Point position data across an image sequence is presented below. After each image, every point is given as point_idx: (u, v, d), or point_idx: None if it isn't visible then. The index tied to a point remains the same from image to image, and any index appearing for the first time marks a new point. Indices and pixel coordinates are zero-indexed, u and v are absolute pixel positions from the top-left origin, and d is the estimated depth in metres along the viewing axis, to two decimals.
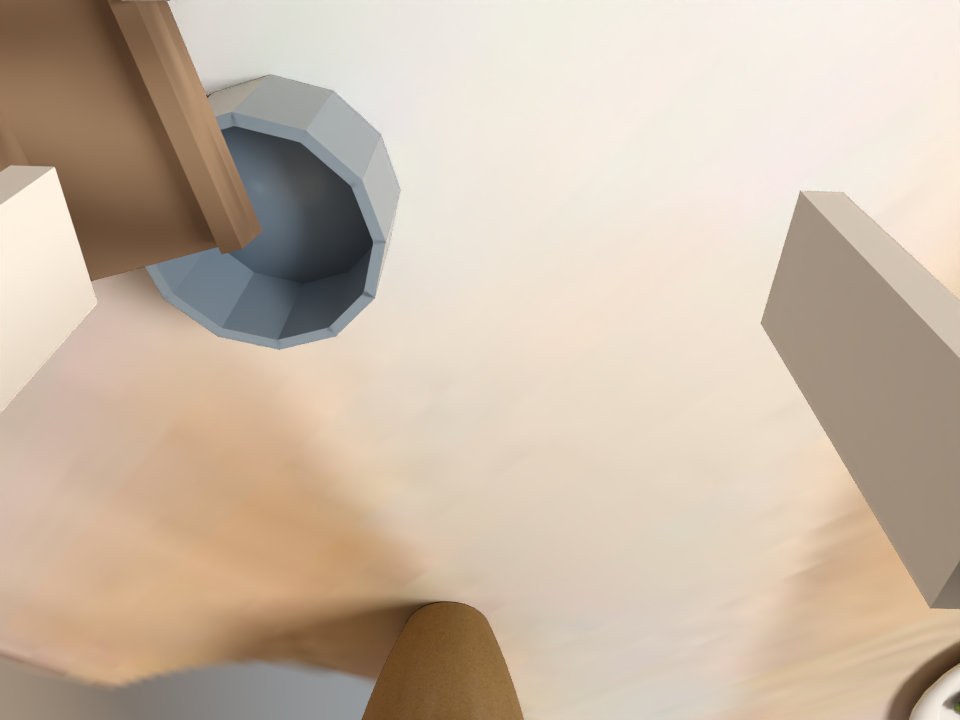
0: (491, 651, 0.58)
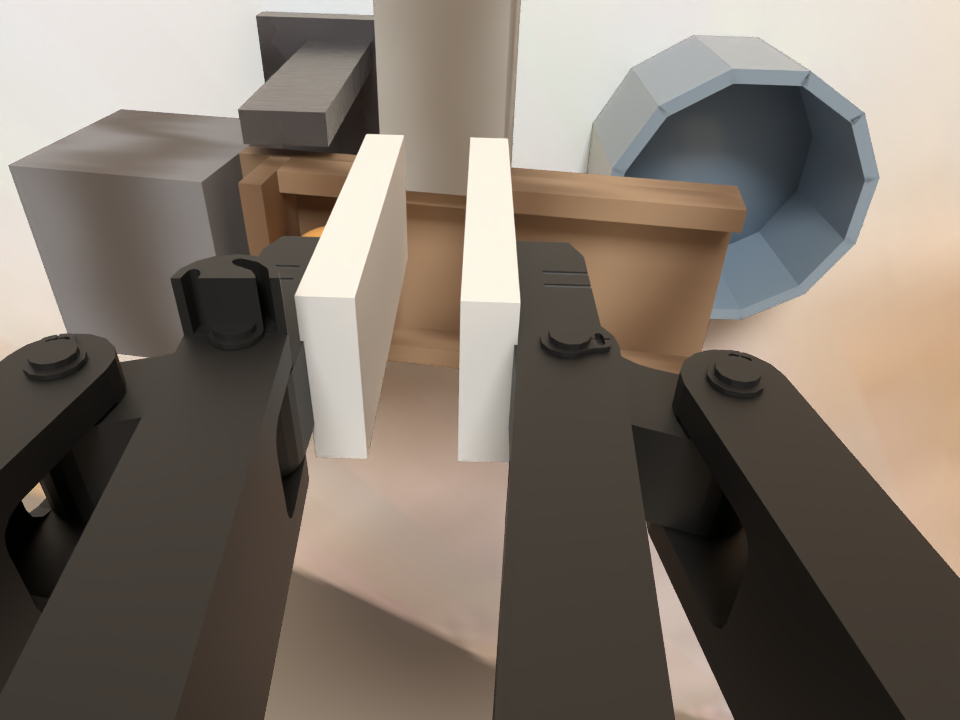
0: None
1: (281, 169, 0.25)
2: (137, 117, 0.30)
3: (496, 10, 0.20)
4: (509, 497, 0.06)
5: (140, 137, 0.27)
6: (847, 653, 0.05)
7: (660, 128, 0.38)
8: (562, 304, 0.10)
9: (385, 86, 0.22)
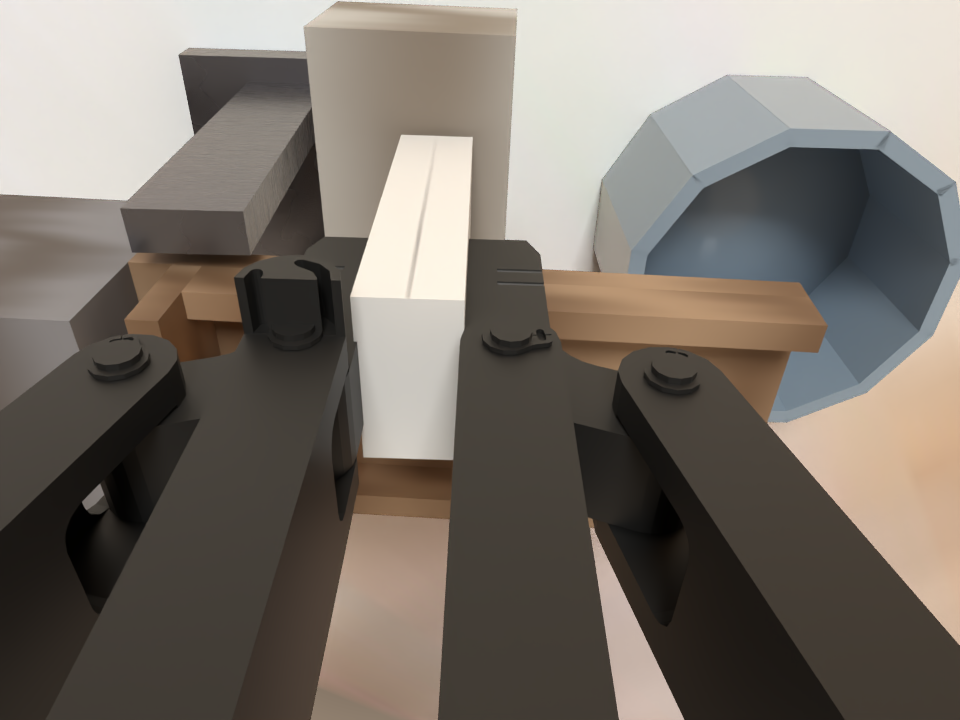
0: None
1: (188, 289, 0.18)
2: None
3: (493, 79, 0.14)
4: (452, 497, 0.06)
5: None
6: (784, 646, 0.05)
7: None
8: (513, 303, 0.10)
9: (331, 184, 0.15)
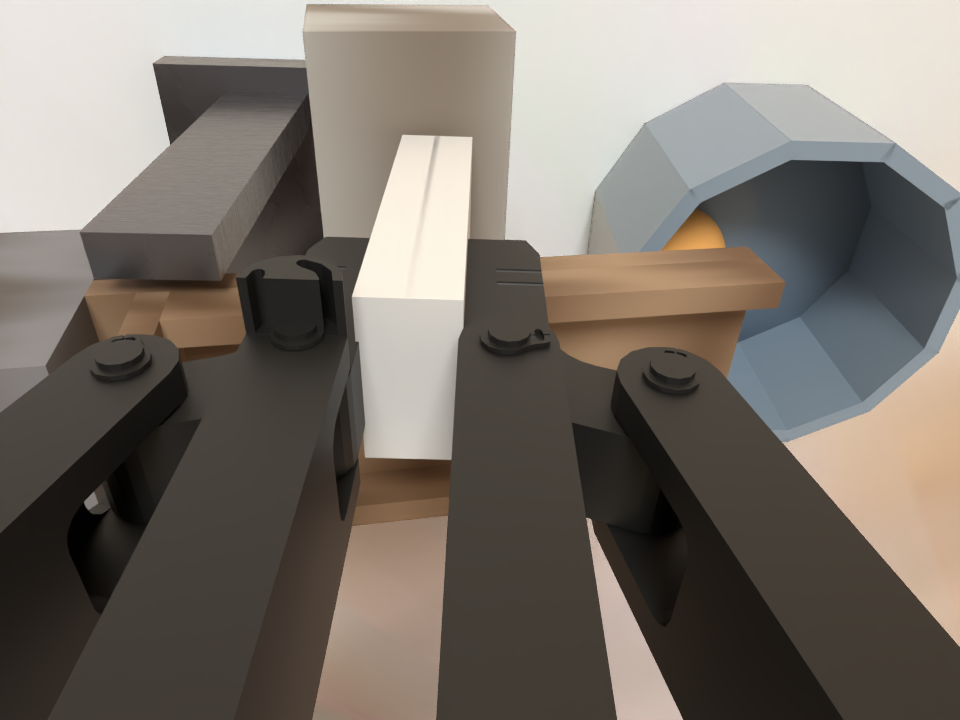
0: None
1: (165, 317, 0.17)
2: None
3: (494, 74, 0.14)
4: (450, 497, 0.06)
5: None
6: (782, 648, 0.05)
7: None
8: (512, 301, 0.10)
9: (331, 192, 0.15)
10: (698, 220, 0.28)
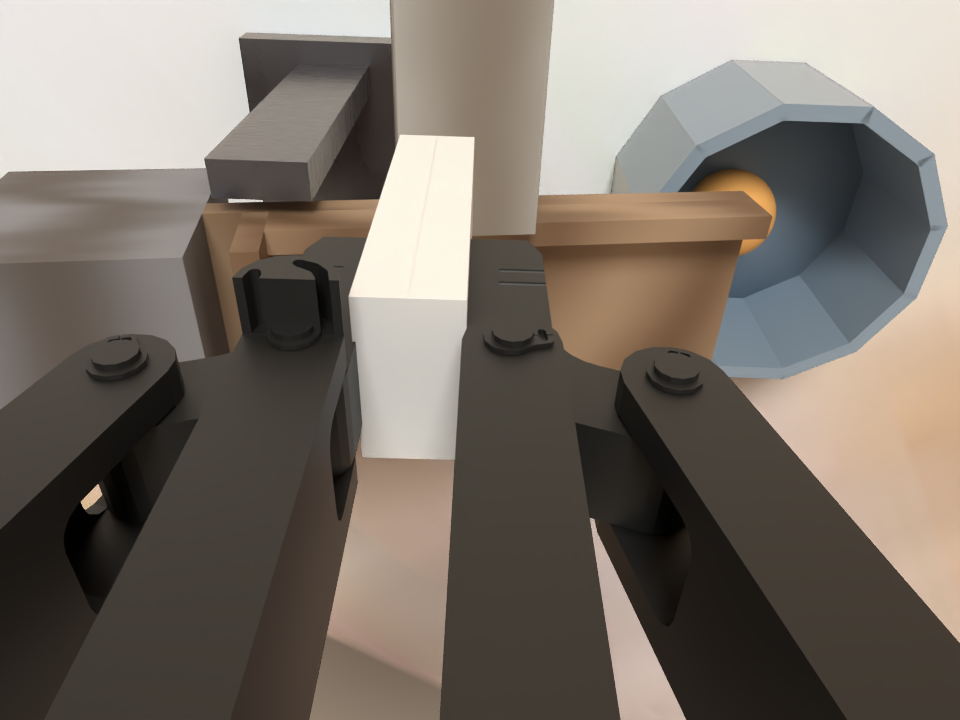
0: None
1: (268, 228, 0.21)
2: (38, 180, 0.24)
3: (536, 32, 0.18)
4: (453, 497, 0.06)
5: (62, 207, 0.22)
6: (786, 648, 0.05)
7: None
8: (515, 302, 0.10)
9: (407, 124, 0.19)
10: (757, 176, 0.32)
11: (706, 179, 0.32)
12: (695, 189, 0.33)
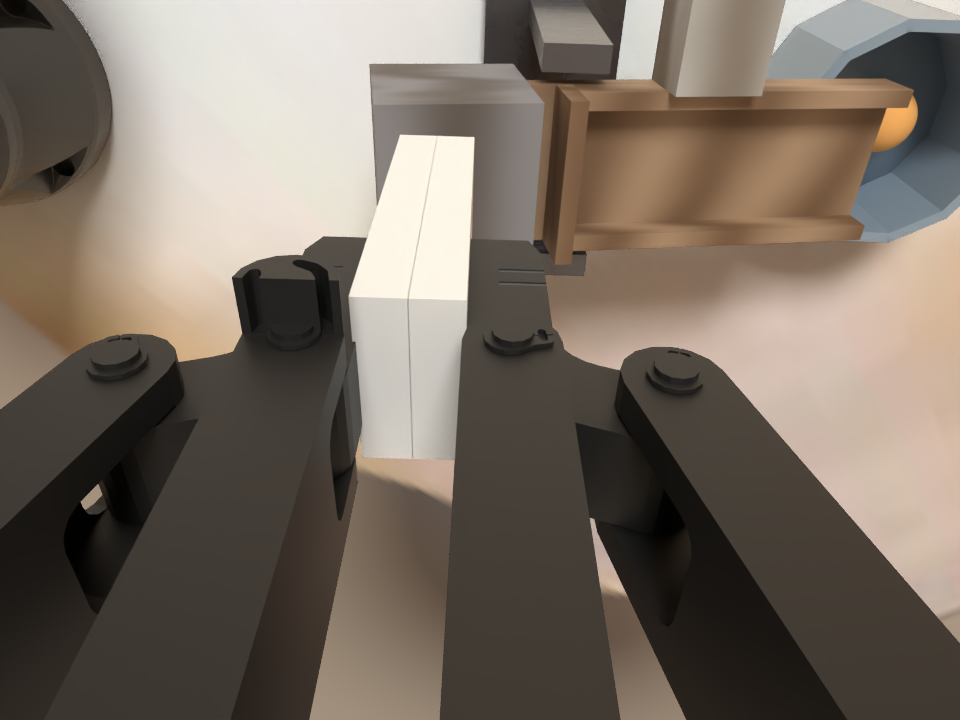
0: None
1: (582, 91, 0.31)
2: (396, 68, 0.34)
3: None
4: (453, 497, 0.06)
5: (432, 80, 0.32)
6: (786, 648, 0.05)
7: None
8: (515, 302, 0.10)
9: (696, 13, 0.29)
10: None
11: None
12: None
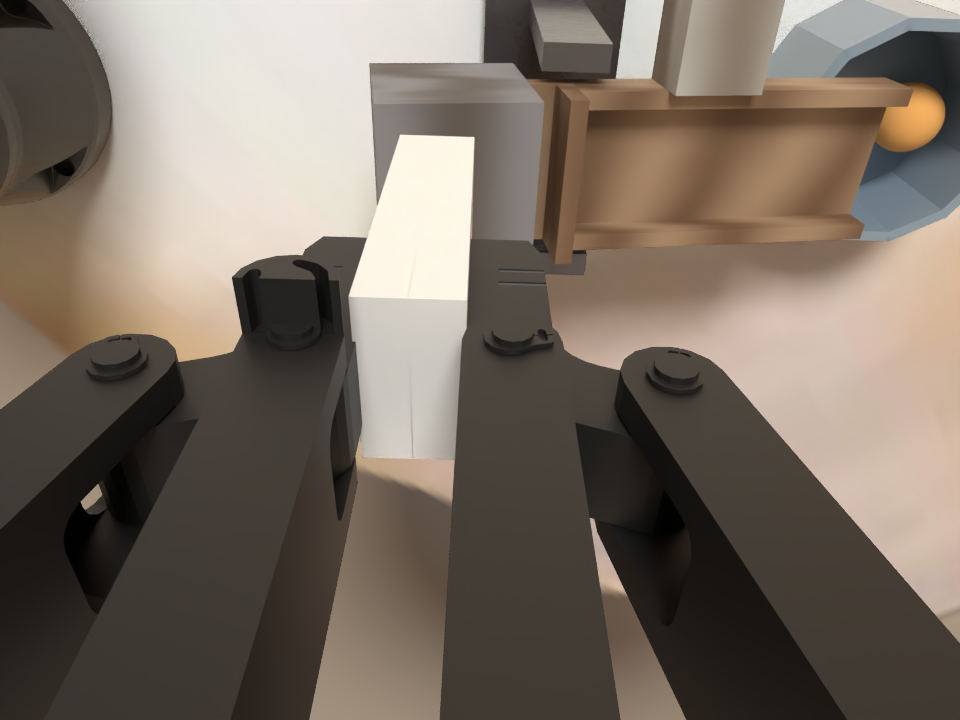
0: None
1: (582, 91, 0.31)
2: (396, 67, 0.34)
3: None
4: (453, 497, 0.06)
5: (432, 79, 0.32)
6: (786, 648, 0.05)
7: None
8: (515, 302, 0.10)
9: (696, 12, 0.29)
10: (907, 82, 0.43)
11: (927, 97, 0.41)
12: (928, 108, 0.41)
